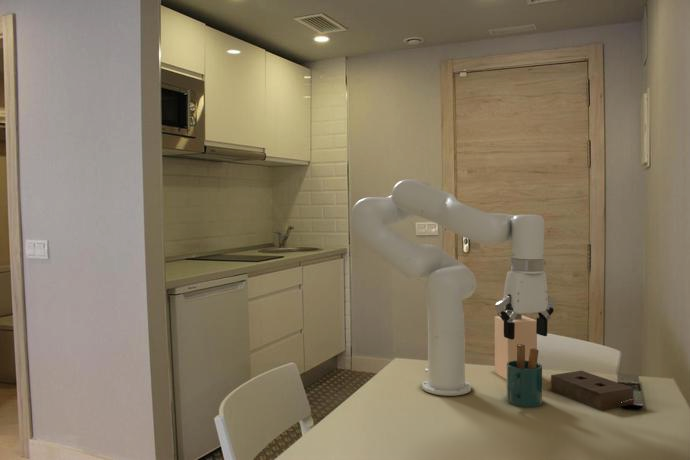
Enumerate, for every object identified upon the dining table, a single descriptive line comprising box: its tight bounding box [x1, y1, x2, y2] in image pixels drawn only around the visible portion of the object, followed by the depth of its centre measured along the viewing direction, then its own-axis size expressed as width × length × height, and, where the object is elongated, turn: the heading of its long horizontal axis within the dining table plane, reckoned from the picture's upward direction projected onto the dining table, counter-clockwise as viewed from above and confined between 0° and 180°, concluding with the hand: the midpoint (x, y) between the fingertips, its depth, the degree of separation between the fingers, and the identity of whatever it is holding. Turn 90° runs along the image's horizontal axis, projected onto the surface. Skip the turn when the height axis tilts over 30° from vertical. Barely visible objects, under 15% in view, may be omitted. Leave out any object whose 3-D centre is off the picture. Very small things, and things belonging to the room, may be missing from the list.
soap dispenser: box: [494, 314, 538, 381], centre depth 162 cm, size 13×9×22 cm
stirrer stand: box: [550, 370, 634, 411], centre depth 143 cm, size 16×10×4 cm, turn 22°
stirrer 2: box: [528, 348, 539, 369], centre depth 138 cm, size 1×1×13 cm
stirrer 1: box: [517, 344, 525, 369], centre depth 141 cm, size 1×1×13 cm
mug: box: [506, 360, 543, 408], centre depth 139 cm, size 12×8×9 cm
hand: (525, 336), depth 139 cm, fingers open, 9 cm apart
